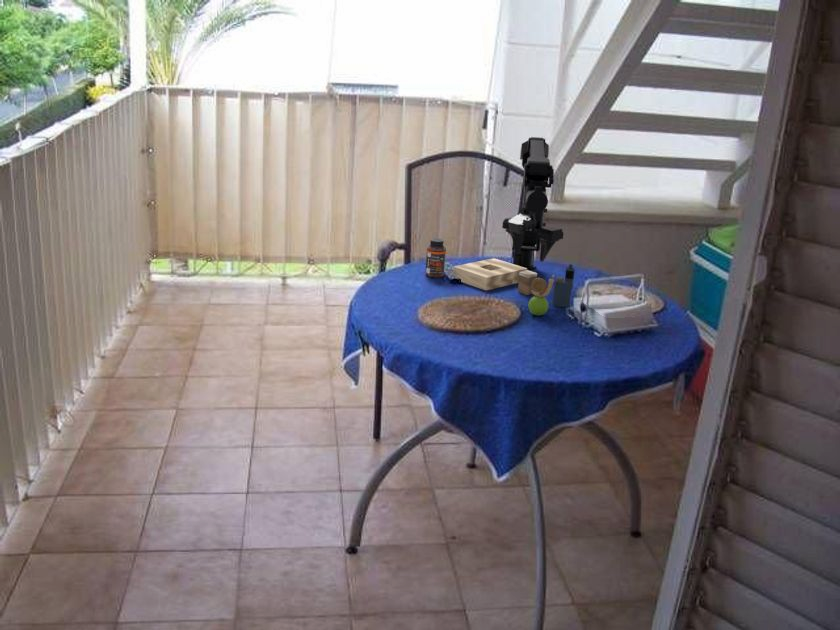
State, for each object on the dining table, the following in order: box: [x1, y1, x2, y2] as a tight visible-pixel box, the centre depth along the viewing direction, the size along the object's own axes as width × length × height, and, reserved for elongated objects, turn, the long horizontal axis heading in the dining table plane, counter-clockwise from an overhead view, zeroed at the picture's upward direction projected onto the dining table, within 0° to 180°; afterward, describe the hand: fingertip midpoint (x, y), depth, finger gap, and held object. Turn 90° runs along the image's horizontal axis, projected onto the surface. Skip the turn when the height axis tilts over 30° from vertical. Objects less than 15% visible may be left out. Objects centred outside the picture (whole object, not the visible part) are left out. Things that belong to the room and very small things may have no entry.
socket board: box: [452, 257, 527, 291], centre depth 254 cm, size 18×14×4 cm
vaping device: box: [552, 264, 576, 308], centre depth 232 cm, size 3×5×12 cm, turn 89°
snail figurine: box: [527, 274, 556, 316], centre depth 223 cm, size 5×6×12 cm
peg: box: [517, 269, 538, 296], centre depth 243 cm, size 4×4×6 cm
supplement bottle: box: [424, 238, 447, 278], centre depth 255 cm, size 6×6×11 cm
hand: (529, 257), depth 241 cm, fingers open, 9 cm apart
